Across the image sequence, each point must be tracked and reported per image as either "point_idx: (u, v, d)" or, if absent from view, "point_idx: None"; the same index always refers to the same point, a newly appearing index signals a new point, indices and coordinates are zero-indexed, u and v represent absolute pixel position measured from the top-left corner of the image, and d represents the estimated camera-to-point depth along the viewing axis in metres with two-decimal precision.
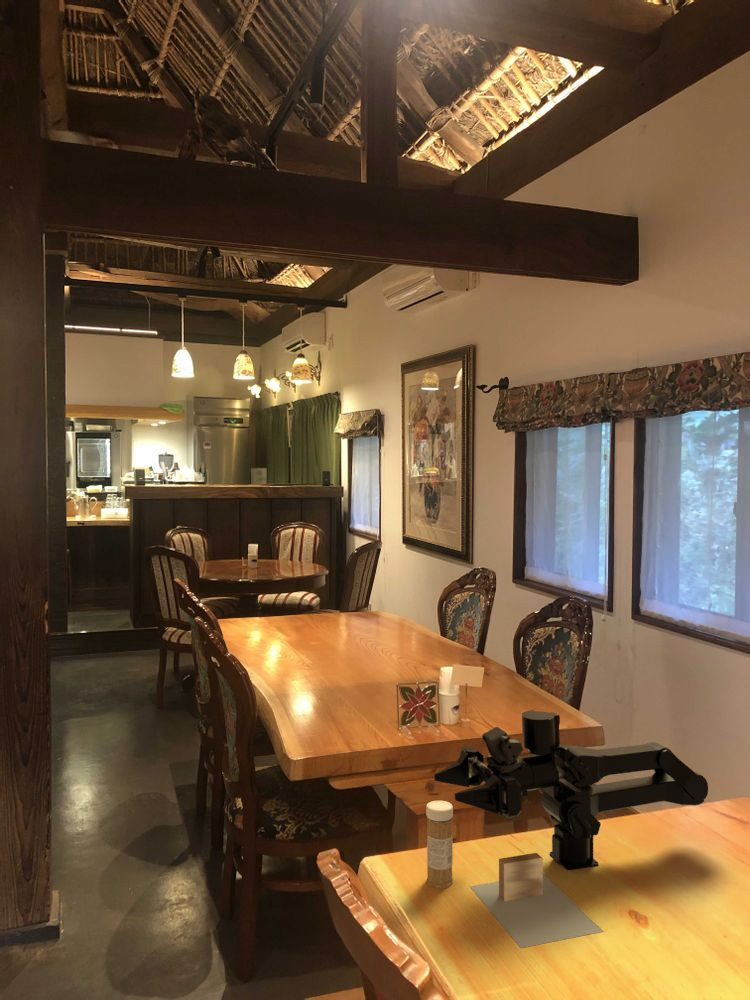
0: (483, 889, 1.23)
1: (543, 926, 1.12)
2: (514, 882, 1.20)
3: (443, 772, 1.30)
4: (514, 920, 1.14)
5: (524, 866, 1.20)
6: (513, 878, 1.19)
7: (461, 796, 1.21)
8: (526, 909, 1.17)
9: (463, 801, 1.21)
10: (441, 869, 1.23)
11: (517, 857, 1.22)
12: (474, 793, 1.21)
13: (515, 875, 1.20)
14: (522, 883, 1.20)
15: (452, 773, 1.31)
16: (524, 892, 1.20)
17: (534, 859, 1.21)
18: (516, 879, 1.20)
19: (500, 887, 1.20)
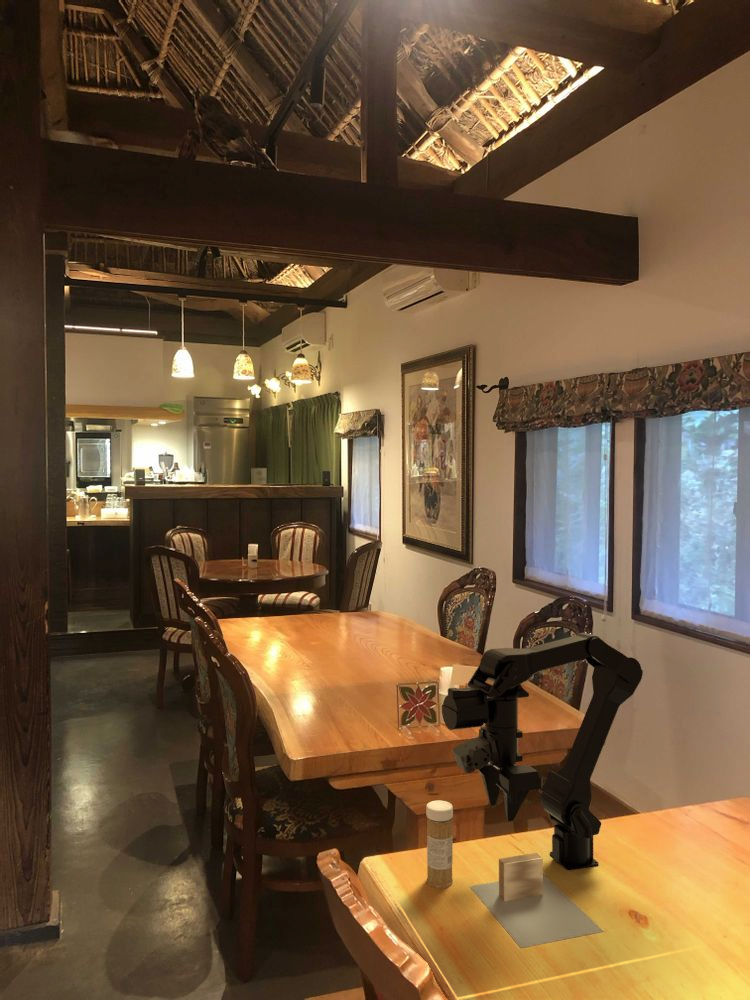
0: (483, 889, 1.23)
1: (543, 926, 1.12)
2: (514, 882, 1.20)
3: (489, 796, 1.31)
4: (514, 920, 1.14)
5: (524, 866, 1.20)
6: (513, 878, 1.19)
7: (510, 816, 1.24)
8: (526, 909, 1.17)
9: (515, 814, 1.24)
10: (441, 869, 1.23)
11: (517, 857, 1.22)
12: (510, 805, 1.23)
13: (515, 875, 1.20)
14: (522, 883, 1.20)
15: (491, 785, 1.31)
16: (524, 892, 1.20)
17: (534, 859, 1.21)
18: (516, 879, 1.20)
19: (500, 887, 1.20)
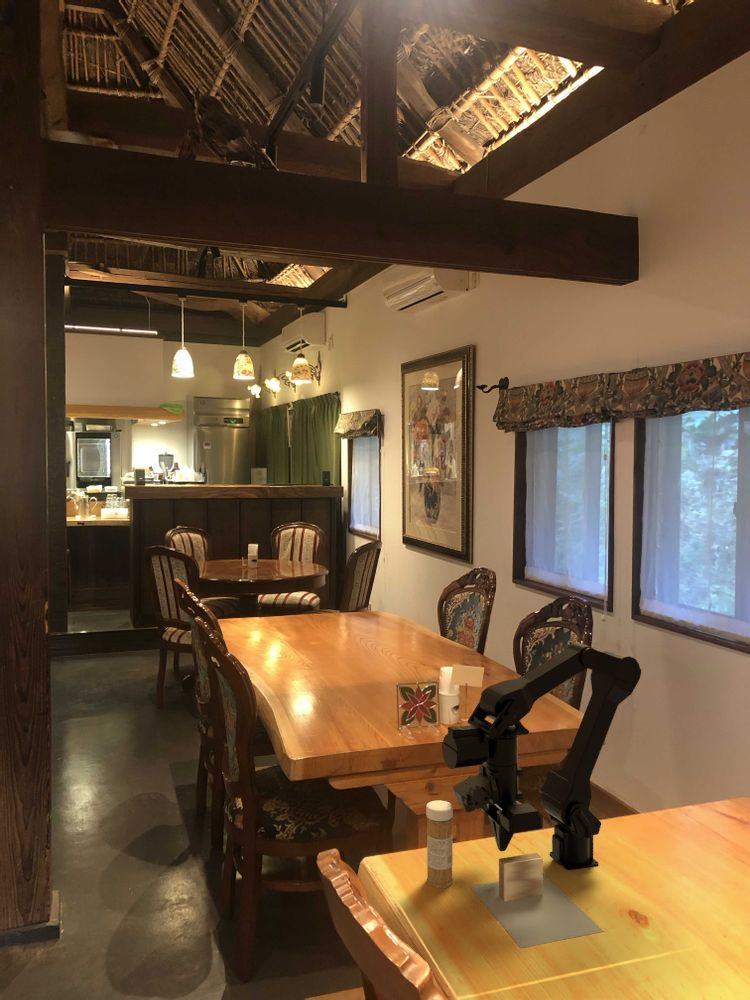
0: (483, 889, 1.23)
1: (543, 926, 1.12)
2: (514, 882, 1.20)
3: (498, 840, 1.28)
4: (514, 920, 1.14)
5: (524, 866, 1.20)
6: (513, 878, 1.19)
7: (502, 846, 1.27)
8: (526, 909, 1.17)
9: (507, 844, 1.27)
10: (441, 869, 1.23)
11: (517, 857, 1.22)
12: (502, 836, 1.26)
13: (515, 875, 1.20)
14: (522, 883, 1.20)
15: None
16: (524, 892, 1.20)
17: (534, 859, 1.21)
18: (516, 879, 1.20)
19: (500, 887, 1.20)
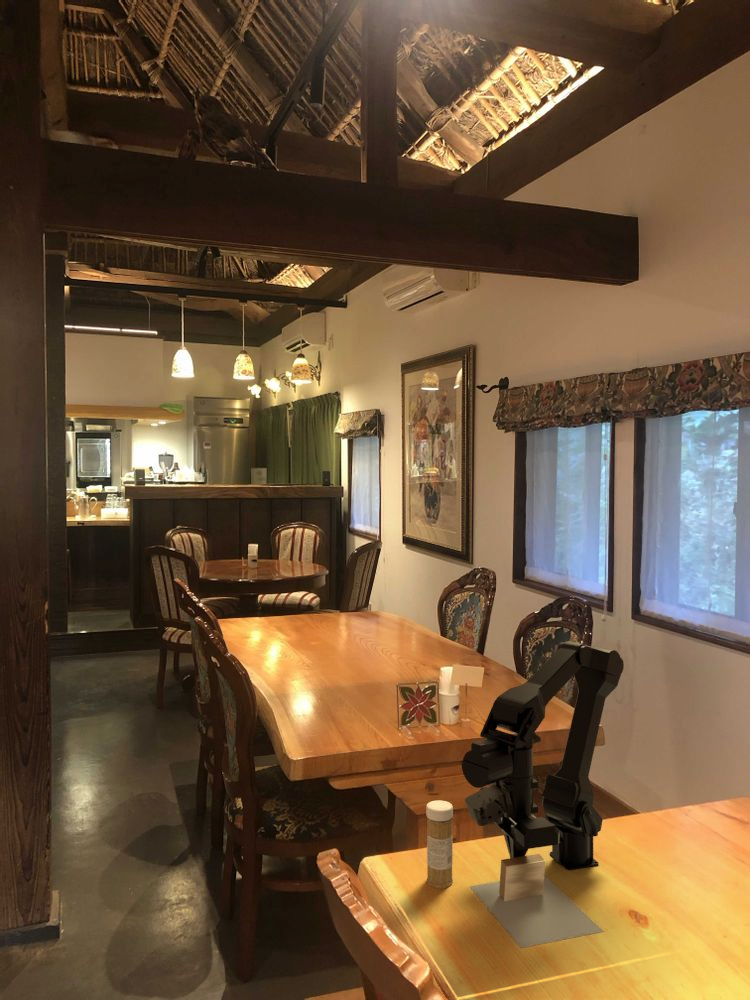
0: (483, 889, 1.23)
1: (543, 926, 1.12)
2: (515, 883, 1.19)
3: (512, 855, 1.22)
4: (514, 920, 1.14)
5: (526, 868, 1.19)
6: (514, 880, 1.19)
7: None
8: (526, 909, 1.17)
9: None
10: (441, 869, 1.23)
11: (520, 858, 1.21)
12: (516, 851, 1.21)
13: (517, 877, 1.19)
14: (523, 884, 1.20)
15: None
16: (524, 892, 1.20)
17: (537, 862, 1.20)
18: (517, 880, 1.19)
19: (501, 886, 1.20)
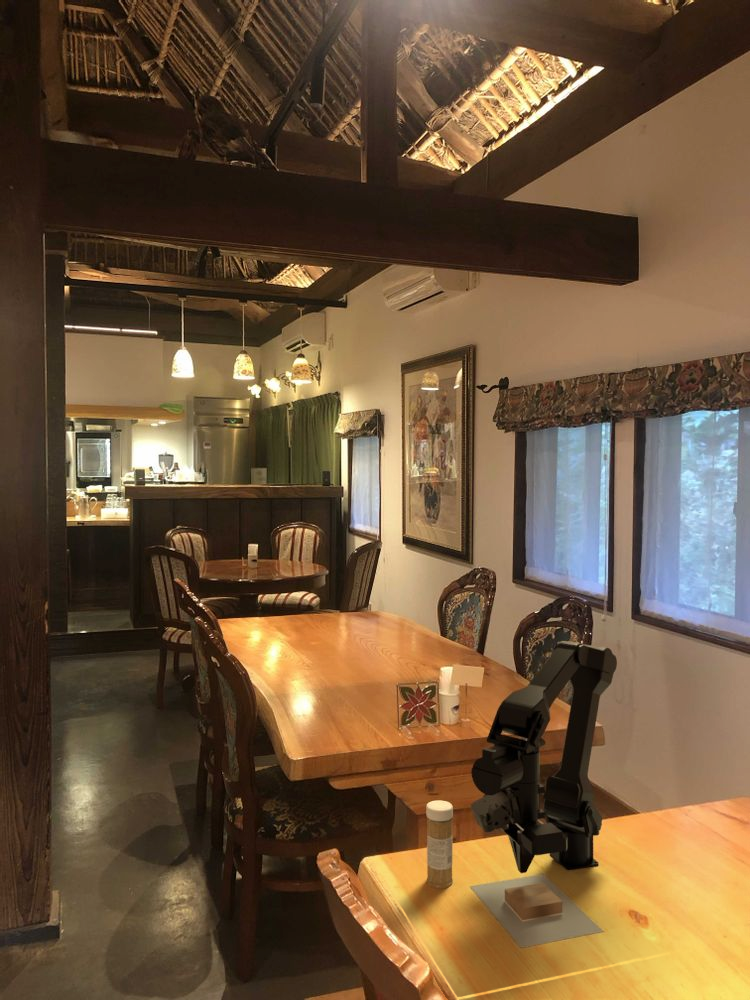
0: (483, 889, 1.23)
1: (543, 926, 1.12)
2: None
3: None
4: (514, 920, 1.14)
5: None
6: None
7: (523, 868, 1.20)
8: None
9: (528, 865, 1.20)
10: (441, 869, 1.23)
11: (541, 907, 1.14)
12: (523, 857, 1.19)
13: None
14: None
15: None
16: None
17: (554, 914, 1.15)
18: None
19: (509, 898, 1.17)
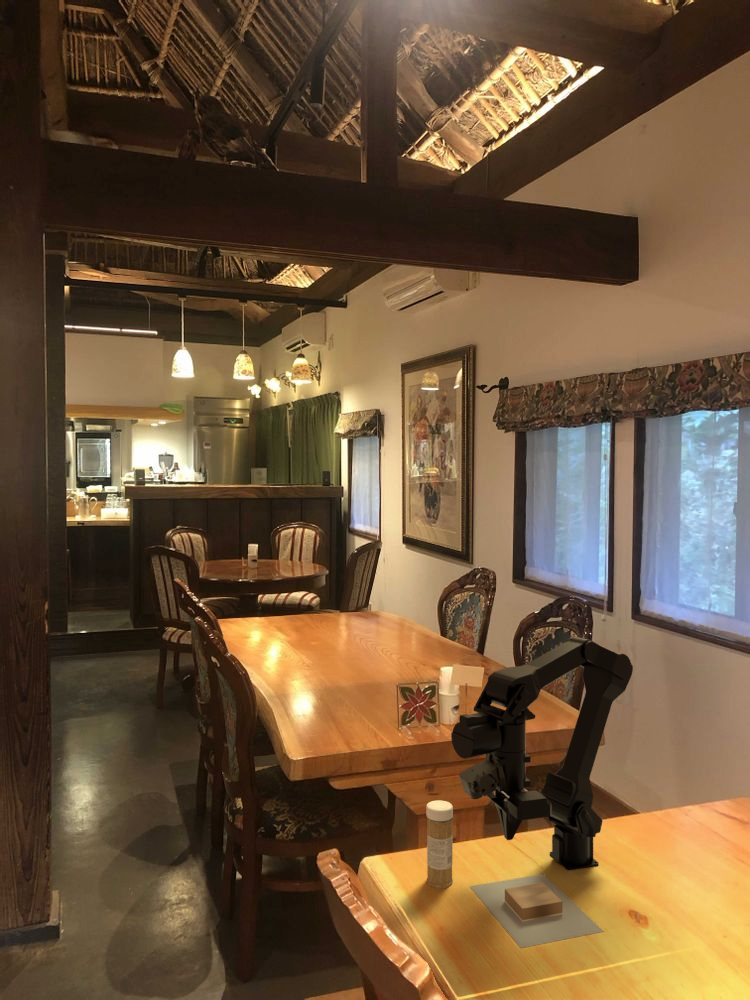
0: (483, 889, 1.23)
1: (543, 926, 1.12)
2: None
3: None
4: (514, 920, 1.14)
5: None
6: None
7: (509, 835, 1.24)
8: None
9: (514, 833, 1.24)
10: (441, 869, 1.23)
11: (541, 907, 1.14)
12: (509, 824, 1.23)
13: None
14: None
15: None
16: None
17: (554, 914, 1.15)
18: None
19: (509, 898, 1.17)
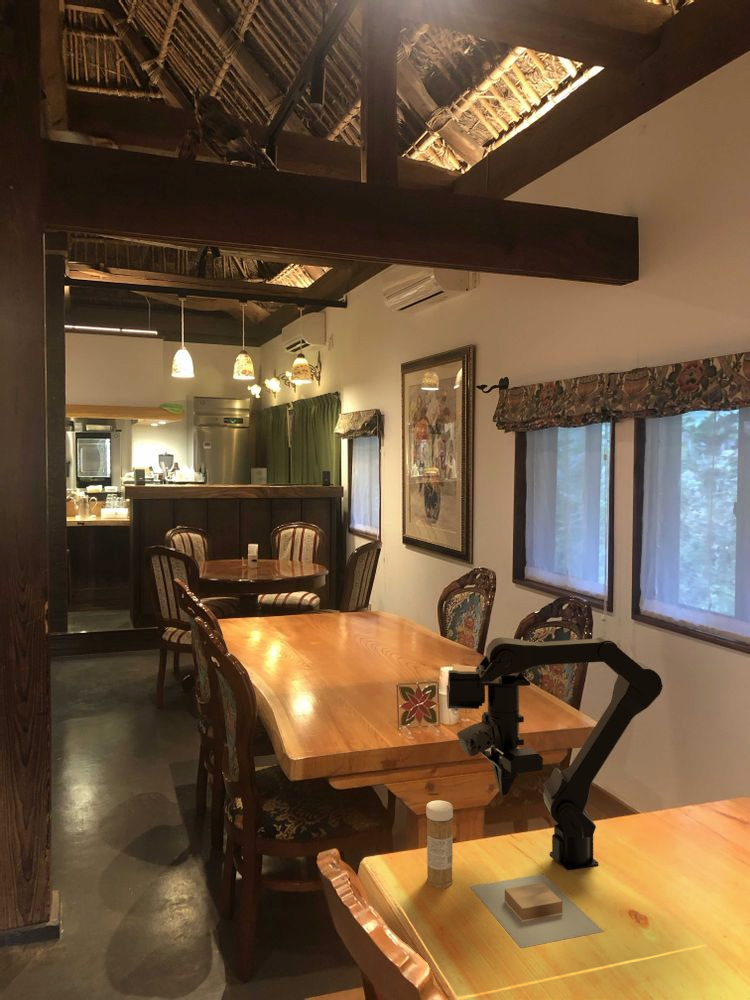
0: (483, 889, 1.23)
1: (543, 926, 1.12)
2: None
3: (500, 785, 1.33)
4: (514, 920, 1.14)
5: None
6: None
7: (504, 790, 1.33)
8: None
9: (509, 788, 1.33)
10: (441, 869, 1.23)
11: (541, 907, 1.14)
12: (504, 780, 1.32)
13: None
14: None
15: None
16: None
17: (554, 914, 1.15)
18: None
19: (509, 898, 1.17)
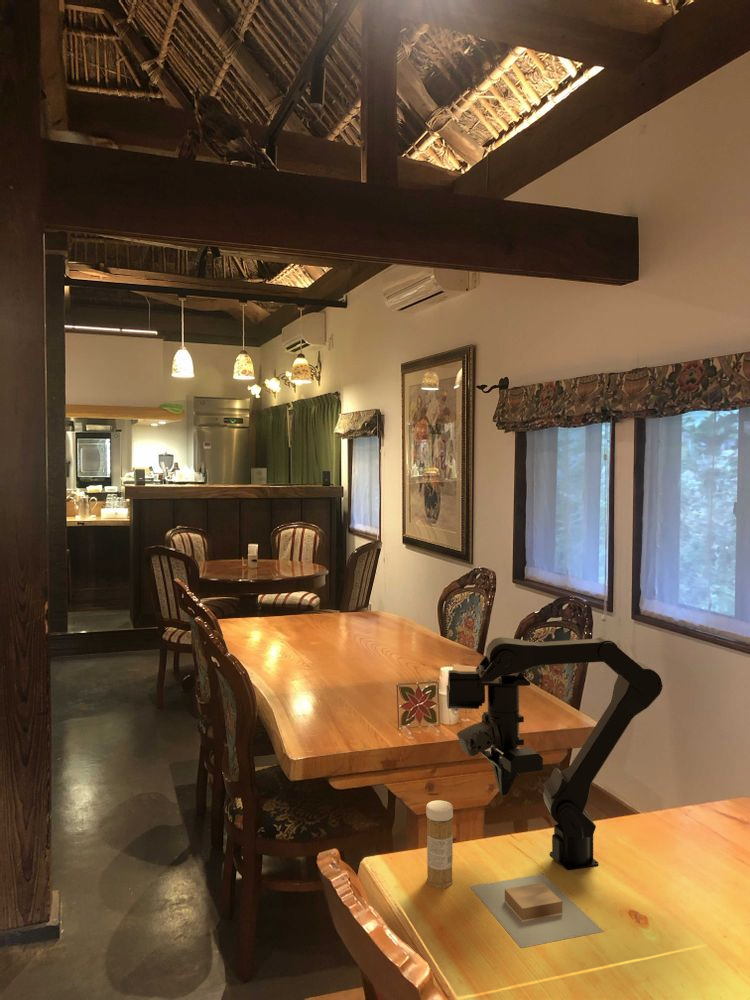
0: (483, 889, 1.23)
1: (543, 926, 1.12)
2: None
3: (500, 785, 1.33)
4: (514, 920, 1.14)
5: None
6: None
7: (504, 790, 1.33)
8: None
9: (509, 788, 1.33)
10: (441, 869, 1.23)
11: (541, 907, 1.14)
12: (504, 780, 1.32)
13: None
14: None
15: None
16: None
17: (554, 914, 1.15)
18: None
19: (509, 898, 1.17)
